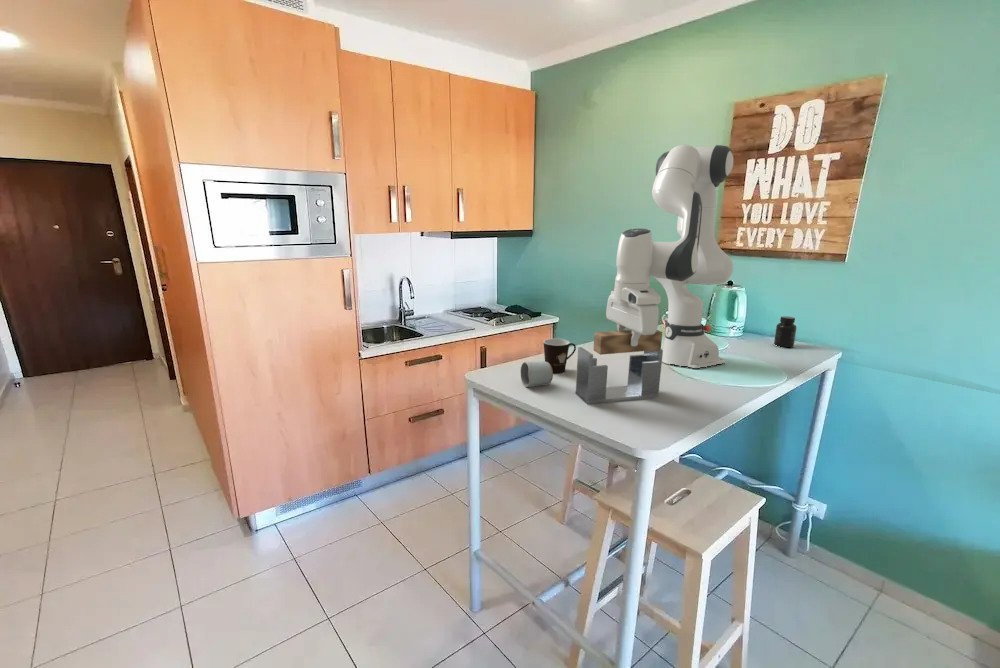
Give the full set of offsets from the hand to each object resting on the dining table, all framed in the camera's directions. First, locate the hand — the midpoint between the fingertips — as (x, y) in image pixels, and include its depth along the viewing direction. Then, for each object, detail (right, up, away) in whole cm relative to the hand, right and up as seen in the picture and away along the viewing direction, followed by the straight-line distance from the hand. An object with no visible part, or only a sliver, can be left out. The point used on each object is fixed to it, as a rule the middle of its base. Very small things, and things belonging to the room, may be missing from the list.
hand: (627, 342), depth 117 cm
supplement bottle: (+81, -3, +58) cm, 99 cm away
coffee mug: (-15, -10, +28) cm, 33 cm away
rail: (0, -2, 0) cm, 2 cm away
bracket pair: (-1, -15, +7) cm, 17 cm away
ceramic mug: (-24, -13, +16) cm, 32 cm away
